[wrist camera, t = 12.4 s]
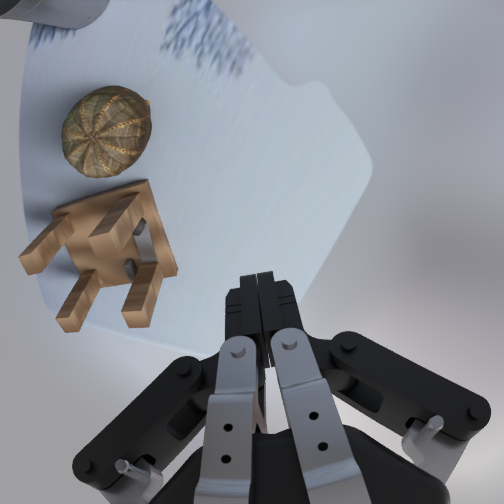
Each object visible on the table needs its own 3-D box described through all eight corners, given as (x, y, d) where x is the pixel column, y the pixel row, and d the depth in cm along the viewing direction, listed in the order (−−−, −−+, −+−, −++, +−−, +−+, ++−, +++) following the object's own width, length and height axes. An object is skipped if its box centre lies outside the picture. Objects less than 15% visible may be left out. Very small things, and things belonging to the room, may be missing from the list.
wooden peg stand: (56, 207, 40) (10, 252, 28) (147, 179, 39) (113, 222, 27) (92, 283, 48) (64, 337, 36) (178, 268, 47) (163, 330, 36)
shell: (112, 172, 38) (75, 204, 28) (81, 111, 32) (34, 124, 22) (175, 139, 36) (152, 159, 26) (143, 71, 31) (107, 67, 20)
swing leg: (129, 218, 39) (99, 263, 29) (147, 215, 39) (121, 261, 29) (147, 275, 45) (128, 328, 35) (164, 274, 45) (149, 327, 35)
